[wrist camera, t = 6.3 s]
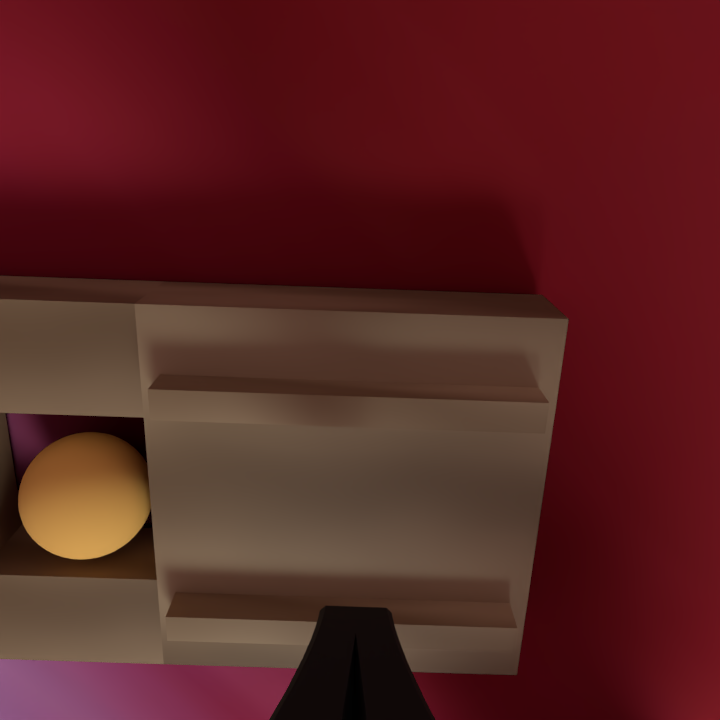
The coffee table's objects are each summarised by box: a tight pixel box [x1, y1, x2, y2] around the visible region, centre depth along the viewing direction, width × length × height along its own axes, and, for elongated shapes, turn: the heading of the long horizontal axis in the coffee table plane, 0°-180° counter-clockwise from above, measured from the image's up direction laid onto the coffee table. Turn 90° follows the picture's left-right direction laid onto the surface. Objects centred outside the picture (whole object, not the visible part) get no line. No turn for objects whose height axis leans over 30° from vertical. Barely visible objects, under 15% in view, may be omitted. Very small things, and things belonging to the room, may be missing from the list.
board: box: [0, 276, 569, 675], centre depth 18 cm, size 11×18×4 cm, turn 88°
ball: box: [18, 432, 151, 560], centre depth 18 cm, size 4×4×4 cm
